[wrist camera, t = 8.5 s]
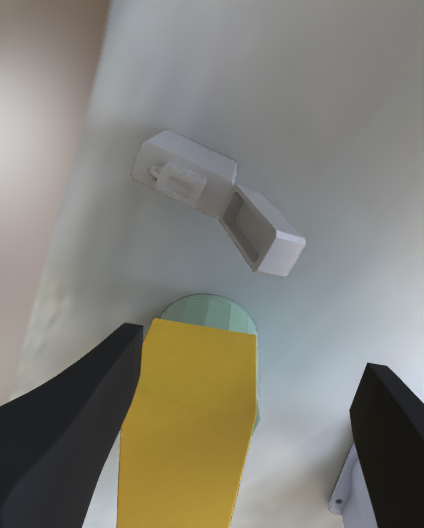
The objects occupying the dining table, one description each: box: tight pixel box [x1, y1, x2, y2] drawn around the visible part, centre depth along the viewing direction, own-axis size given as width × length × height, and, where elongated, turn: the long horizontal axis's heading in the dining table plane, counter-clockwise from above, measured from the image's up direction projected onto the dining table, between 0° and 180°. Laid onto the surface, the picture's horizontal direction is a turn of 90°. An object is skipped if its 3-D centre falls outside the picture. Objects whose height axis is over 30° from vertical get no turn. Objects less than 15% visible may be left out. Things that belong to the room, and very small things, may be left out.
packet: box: [116, 318, 257, 528], centre depth 18 cm, size 10×5×5 cm, turn 173°
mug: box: [160, 294, 260, 437], centre depth 23 cm, size 9×6×6 cm
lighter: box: [131, 129, 306, 278], centre depth 17 cm, size 7×2×8 cm, turn 66°
